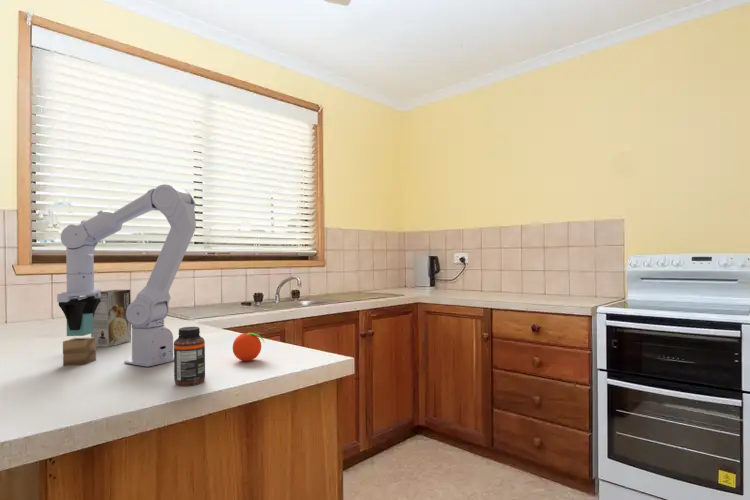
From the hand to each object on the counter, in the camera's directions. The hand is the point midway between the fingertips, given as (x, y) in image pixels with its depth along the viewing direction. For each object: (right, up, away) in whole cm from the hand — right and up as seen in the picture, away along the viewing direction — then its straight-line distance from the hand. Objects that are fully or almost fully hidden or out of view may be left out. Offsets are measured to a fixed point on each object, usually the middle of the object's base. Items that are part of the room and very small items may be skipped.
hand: (80, 328), depth 113 cm
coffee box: (-6, -9, +24) cm, 26 cm away
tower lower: (0, -9, 0) cm, 9 cm away
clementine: (+42, -8, 0) cm, 43 cm away
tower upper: (0, -6, 0) cm, 6 cm away
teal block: (0, -2, 0) cm, 2 cm away
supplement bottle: (+35, -8, -19) cm, 41 cm away
